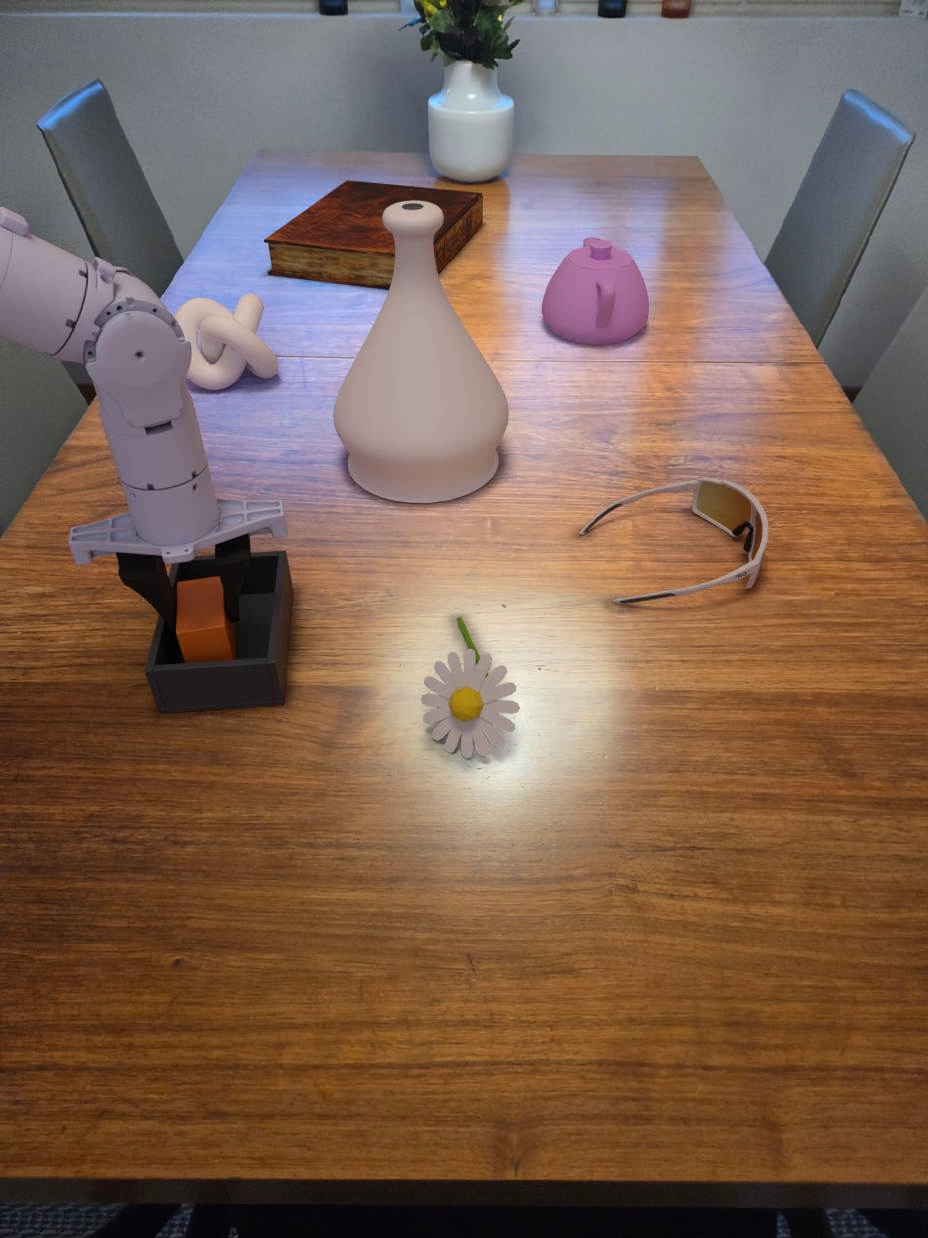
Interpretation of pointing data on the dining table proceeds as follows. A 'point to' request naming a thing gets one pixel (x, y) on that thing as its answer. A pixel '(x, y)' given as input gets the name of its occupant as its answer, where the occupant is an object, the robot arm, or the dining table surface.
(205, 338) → the beige knot sculpture
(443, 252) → the book
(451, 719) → the decorative flower
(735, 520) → the sunglasses
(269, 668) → the open box
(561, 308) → the teapot
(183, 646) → the block
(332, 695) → the dining table surface
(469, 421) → the vase
